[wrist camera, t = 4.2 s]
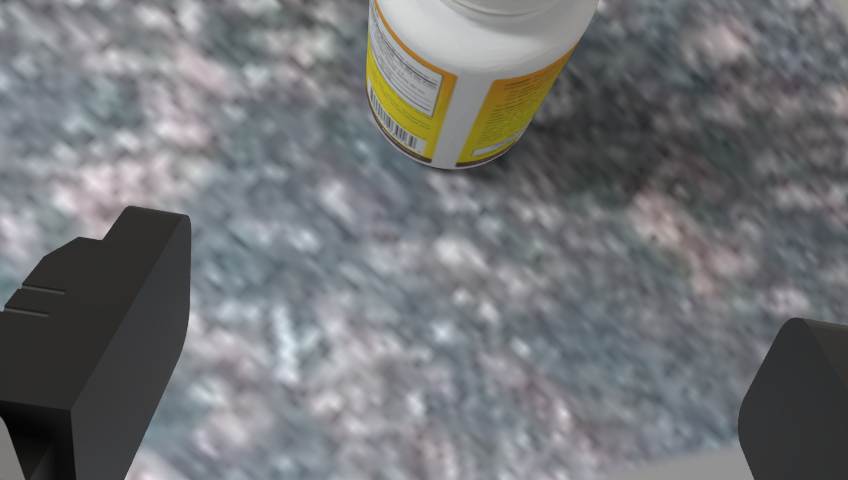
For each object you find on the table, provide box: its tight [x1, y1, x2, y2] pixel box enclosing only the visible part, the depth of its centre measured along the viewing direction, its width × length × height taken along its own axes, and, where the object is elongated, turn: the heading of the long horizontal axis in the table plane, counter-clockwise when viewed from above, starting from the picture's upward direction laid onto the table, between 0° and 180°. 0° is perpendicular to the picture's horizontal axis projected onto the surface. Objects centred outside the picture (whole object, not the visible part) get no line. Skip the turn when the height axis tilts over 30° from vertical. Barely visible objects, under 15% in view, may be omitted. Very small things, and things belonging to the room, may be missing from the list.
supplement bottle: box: [366, 0, 599, 169], centre depth 22 cm, size 6×6×10 cm
